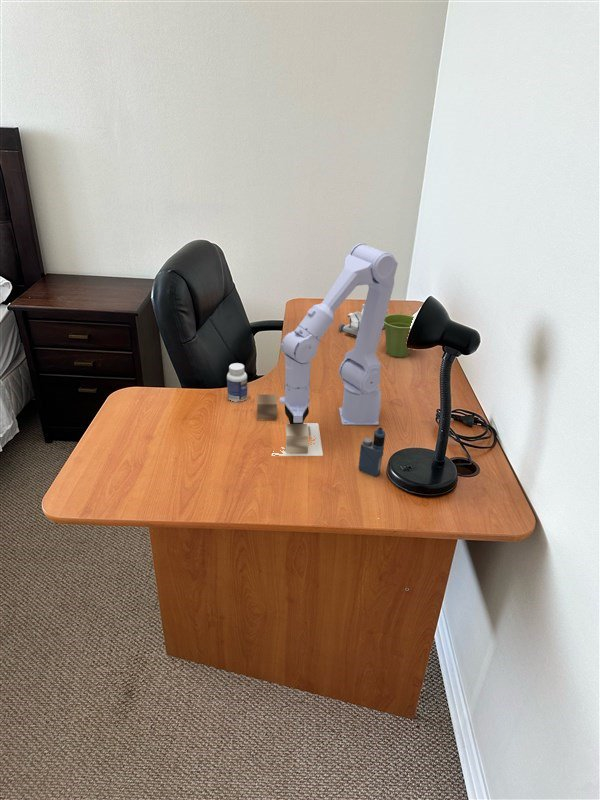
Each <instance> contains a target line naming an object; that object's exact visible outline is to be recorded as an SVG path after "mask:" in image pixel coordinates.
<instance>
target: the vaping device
mask: <svg viewBox="0 0 600 800" xmlns="http://www.w3.org/2000/svg"><path fill="white" fill-rule="evenodd" d="M385 439H386V431H385V430H384V428H382V427H378V428H377V429H376V430H374V433H373V438H371V437H364V438H363V441H362V442H361V444H360V448H359V449H360V450H359V460H358V461H359V462H358V469H359V471H360V472H362V473H364V474H366V475H369V476H372V477H375V478H376V477H378V476H379V475H380V473H381V467H382V460H383V459H382V458H383V455H384V450H385V441H386V440H385Z"/></svg>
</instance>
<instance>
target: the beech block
mask: <svg viewBox="0 0 600 800" xmlns="http://www.w3.org/2000/svg"><path fill="white" fill-rule="evenodd" d="M291 453H308V427H307V424H286V454H291Z"/></svg>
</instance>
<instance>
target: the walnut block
mask: <svg viewBox="0 0 600 800" xmlns="http://www.w3.org/2000/svg"><path fill="white" fill-rule="evenodd" d="M256 400H257V402H256V412H257V414H256V416H257V417H256V420H257V421H260V420H259V419H277V420H278V395H277V394H272V393H270V394H269V393H267V394H261V393H259V394H257V397H256Z"/></svg>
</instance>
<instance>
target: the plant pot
mask: <svg viewBox="0 0 600 800" xmlns="http://www.w3.org/2000/svg"><path fill="white" fill-rule="evenodd" d="M414 317H415V316H412V315H409V314H403V313H392V314H388V315H387V316H386V317H385V320H384V328H385V329H384V328H383V329H384V330H385V349H386V354H387V355H389V356H391V357H398V358H405V357H408V356H409V355H410V351H411V349H408V348H407V347H406V342H407V337H408V334H409V330H410V326H411V323H412V320H413V318H414Z"/></svg>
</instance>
